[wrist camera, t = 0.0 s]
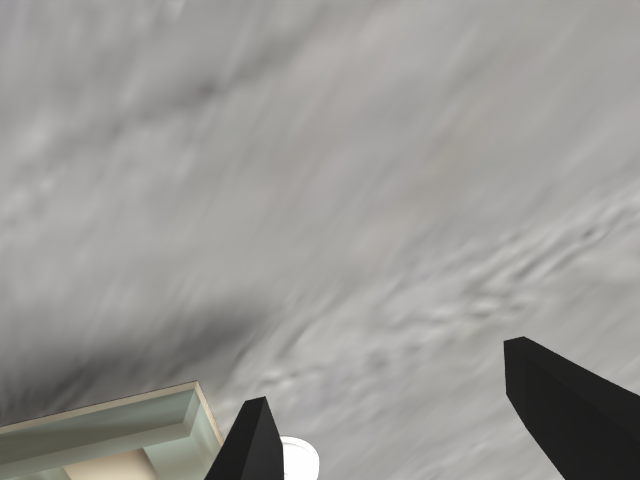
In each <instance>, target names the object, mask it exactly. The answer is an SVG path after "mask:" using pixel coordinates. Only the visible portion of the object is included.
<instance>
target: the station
mask: <svg viewBox="0 0 640 480" xmlns="http://www.w3.org/2000/svg"><path fill="white" fill-rule="evenodd" d="M223 444H224V440H223V438H222V436H221V434H220V431H219V429H218V427H217V425H216V422H215V420H214V418H213V415H212V413H211V411H210V409H209V406H208V404H207V402H206V399H205V397H204V395H203V393H202V390H201V388H200V386H199V383H198V381H195V382H191V383H187V384H182V385H178V386H174V387H170V388H165V389H161V390H157V391H152V392H148V393H144V394H140V395H135V396H131V397H127V398H123V399H118V400H114V401H110V402H106V403H101V404H97V405H93V406H89V407H84V408H80V409H76V410H72V411H67V412H63V413H59V414H54V415H50V416H46V417H42V418H37V419H33V420H29V421H25V422H20V423H16V424H12V425H8V426H3V427H1V428H0V480H204V478H205V477H206V475H207V473H208V471H209V470H210V468H211V466H212V464H213V462H214V460H215V458H216V457H217V455H218V453H219V451H220V449H221V447H222V445H223Z"/></svg>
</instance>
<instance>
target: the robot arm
mask: <svg viewBox="0 0 640 480" xmlns="http://www.w3.org/2000/svg"><path fill="white" fill-rule="evenodd" d="M504 359H505V378H506V395H507V396H508V398H509V400H510V402H511V403H512V405H513V407H514V409H515V410H516V412H517V414H518V415H519V417H520V419H521V420H522V422H523V423H524V425H525V427H526V428H527V430H528V431H529V432H530V434H531V435H532V436H533V438H534V439H535V440H536V442H537V443H538V444H539V446H540V447H541V448H542V450H543V451H544V452H545V454H546V455H547V456H548V458H549V459H550V460H551V462H552V463H553V464H554V466H555V467H556V468H557V470H558V471H559V472H560V474H561V475H562V476H563V478H564V479H565V480H640V396H639V395H637V394H635V393H632V392H630V391H628V390H626V389H624V388H622V387H620V386H618V385H616V384H614V383H612V382H610V381H608V380H606V379H604V378H602V377H600V376H598V375H596V374H594V373H592V372H590V371H588V370H586V369H584V368H582V367H581V366H579V365H577V364H575V363H573V362H571V361H569V360H567V359H566V358H564V357H562V356H560V355H558V354H556V353H554V352H553V351H551V350H549V349H547V348H545V347H543V346H542V345H540V344H538V343H536V342H534V341H532V340H530V339H528V338H526V337H524V336H523V337H519V338H515V339H510V340H506V341H504ZM204 480H284V454H283V444H282V441H281V439H280V436H279V433H278V430H277V427H276V425H275V422H274V419H273V416H272V413H271V411H270V408H269V405H268V402H267V399H266V397H265V396H264V397H260V398H256V399H251V400H247V401H245V402H244V404H243V405H242V408H241V410H240V412H239V414H238V416H237V418H236V420H235V422H234V424H233V426H232V428H231V430H230V432H229V434H228V436H227V438H226V440H225V442H224V444H223V445H222V447H221V449H220V451H219V453H218V455H217V457H216V458H215V460H214V462H213V464H212V466H211V468H210V470H209V471H208V473H207V475H206V477H205V478H204Z"/></svg>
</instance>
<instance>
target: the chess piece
mask: <svg viewBox="0 0 640 480" xmlns="http://www.w3.org/2000/svg"><path fill="white" fill-rule="evenodd" d="M280 439H281V441H282V444H283V454H284V480H316V479H317V477H318V471H319V469H318V468H319V457H318V454H317V452H316V451H315V449H314V448H313V447H312V446H311V445H310V444H308V443H307V442H305V441H303V440H301V439H298V438H295V437H288V436H280Z"/></svg>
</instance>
